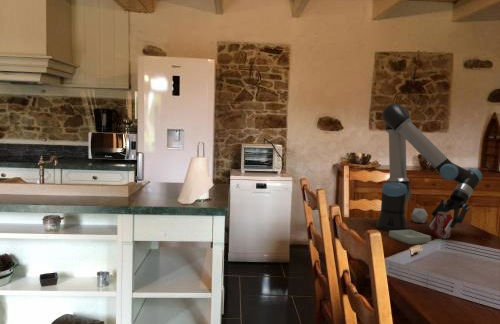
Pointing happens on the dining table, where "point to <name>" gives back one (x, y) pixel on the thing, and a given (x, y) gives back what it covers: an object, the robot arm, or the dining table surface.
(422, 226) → the dining table surface
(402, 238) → the dish
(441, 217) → the soda can
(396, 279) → the dining table surface
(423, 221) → the die
